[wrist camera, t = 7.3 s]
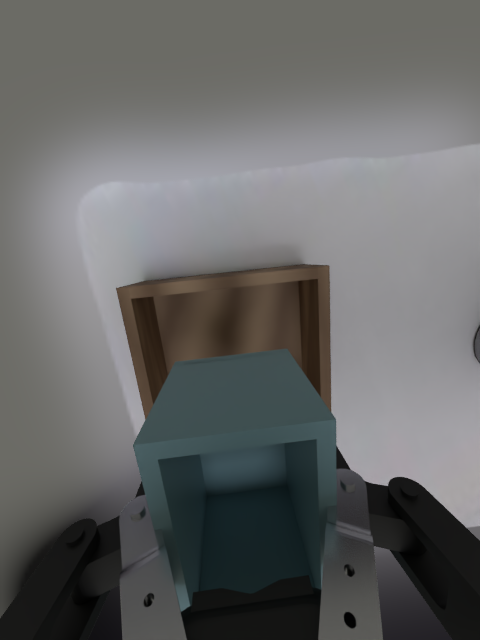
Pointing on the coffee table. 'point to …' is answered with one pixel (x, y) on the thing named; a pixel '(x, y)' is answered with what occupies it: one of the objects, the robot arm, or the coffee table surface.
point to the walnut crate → (229, 321)
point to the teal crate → (239, 472)
